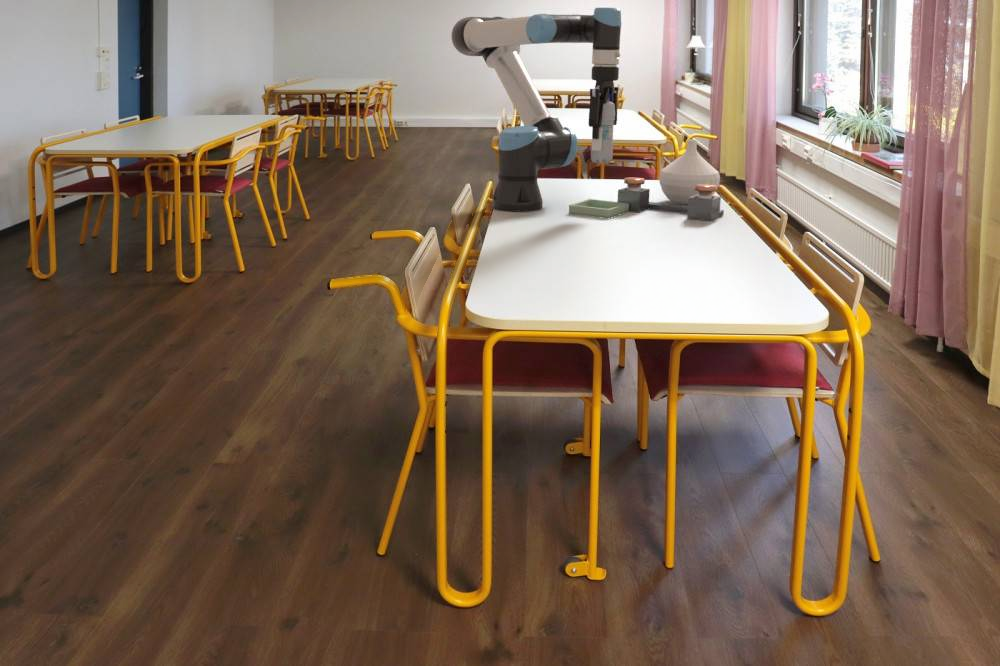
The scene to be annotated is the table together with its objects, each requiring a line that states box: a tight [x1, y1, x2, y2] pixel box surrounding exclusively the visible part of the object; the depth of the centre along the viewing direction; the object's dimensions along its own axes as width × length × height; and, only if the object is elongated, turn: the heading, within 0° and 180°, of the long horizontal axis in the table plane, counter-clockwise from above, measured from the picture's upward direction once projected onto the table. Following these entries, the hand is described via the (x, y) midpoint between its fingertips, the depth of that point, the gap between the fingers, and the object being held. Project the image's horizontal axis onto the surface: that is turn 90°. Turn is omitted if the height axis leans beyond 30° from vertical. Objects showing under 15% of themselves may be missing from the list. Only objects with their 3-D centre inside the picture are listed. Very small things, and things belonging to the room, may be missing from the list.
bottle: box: [590, 93, 615, 165], centre depth 277 cm, size 7×7×20 cm
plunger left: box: [623, 177, 646, 191], centre depth 288 cm, size 6×6×8 cm
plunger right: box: [695, 184, 717, 199], centre depth 277 cm, size 6×6×8 cm
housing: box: [617, 186, 724, 222], centre depth 285 cm, size 29×10×6 cm, turn 58°
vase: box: [659, 139, 721, 206], centre depth 299 cm, size 18×18×19 cm
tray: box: [568, 198, 629, 219], centre depth 284 cm, size 13×13×2 cm
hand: (601, 149), depth 279 cm, fingers closed on bottle, 6 cm apart
